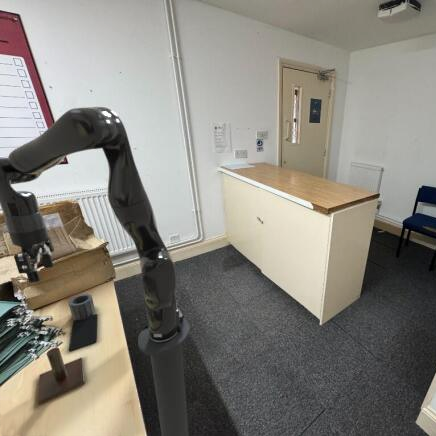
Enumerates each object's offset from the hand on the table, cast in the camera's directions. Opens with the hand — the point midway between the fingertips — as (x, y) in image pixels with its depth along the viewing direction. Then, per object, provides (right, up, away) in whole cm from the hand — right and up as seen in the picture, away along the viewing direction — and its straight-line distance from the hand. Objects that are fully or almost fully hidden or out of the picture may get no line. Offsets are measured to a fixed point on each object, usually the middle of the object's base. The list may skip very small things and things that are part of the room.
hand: (42, 273), depth 74 cm
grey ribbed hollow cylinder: (+1, -19, +14) cm, 23 cm away
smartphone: (+7, -22, +7) cm, 25 cm away
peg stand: (+15, -28, -8) cm, 33 cm away
